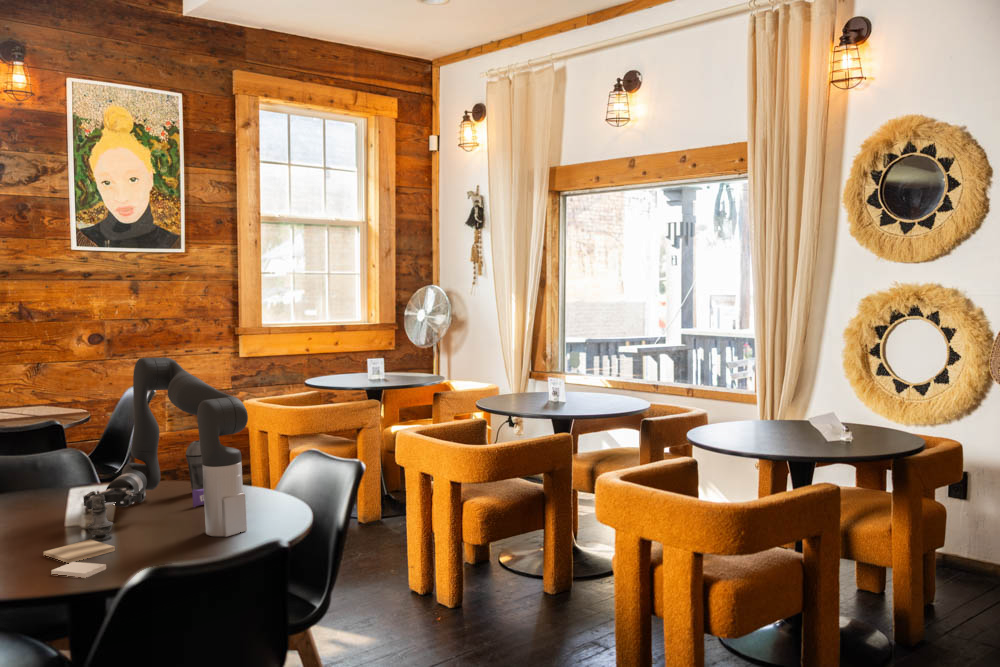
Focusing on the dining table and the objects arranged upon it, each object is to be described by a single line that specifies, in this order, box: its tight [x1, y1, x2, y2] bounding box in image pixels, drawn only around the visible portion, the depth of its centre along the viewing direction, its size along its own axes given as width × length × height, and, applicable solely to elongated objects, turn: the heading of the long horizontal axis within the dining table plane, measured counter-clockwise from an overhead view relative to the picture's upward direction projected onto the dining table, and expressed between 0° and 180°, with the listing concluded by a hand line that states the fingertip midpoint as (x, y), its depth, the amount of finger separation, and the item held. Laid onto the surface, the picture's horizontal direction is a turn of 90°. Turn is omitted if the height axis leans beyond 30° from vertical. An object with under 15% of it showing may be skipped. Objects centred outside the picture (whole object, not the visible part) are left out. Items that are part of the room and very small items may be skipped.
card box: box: [51, 561, 107, 579], centre depth 187 cm, size 9×6×2 cm, turn 72°
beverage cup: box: [185, 440, 204, 491], centre depth 257 cm, size 7×7×20 cm
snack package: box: [191, 489, 204, 508], centre depth 245 cm, size 12×2×5 cm, turn 139°
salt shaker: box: [86, 490, 114, 543], centre depth 212 cm, size 6×6×12 cm
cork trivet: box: [43, 539, 116, 564], centre depth 201 cm, size 11×11×1 cm
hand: (107, 504), depth 218 cm, fingers open, 8 cm apart
